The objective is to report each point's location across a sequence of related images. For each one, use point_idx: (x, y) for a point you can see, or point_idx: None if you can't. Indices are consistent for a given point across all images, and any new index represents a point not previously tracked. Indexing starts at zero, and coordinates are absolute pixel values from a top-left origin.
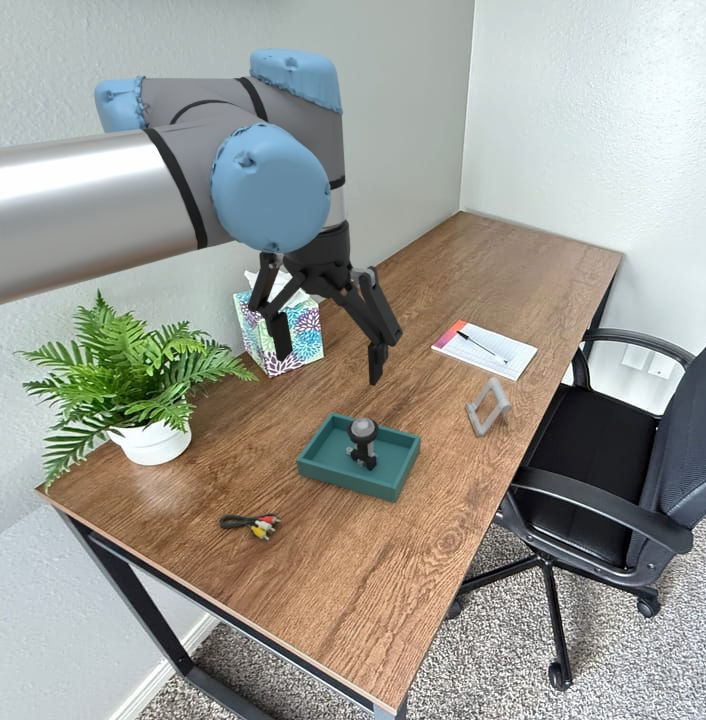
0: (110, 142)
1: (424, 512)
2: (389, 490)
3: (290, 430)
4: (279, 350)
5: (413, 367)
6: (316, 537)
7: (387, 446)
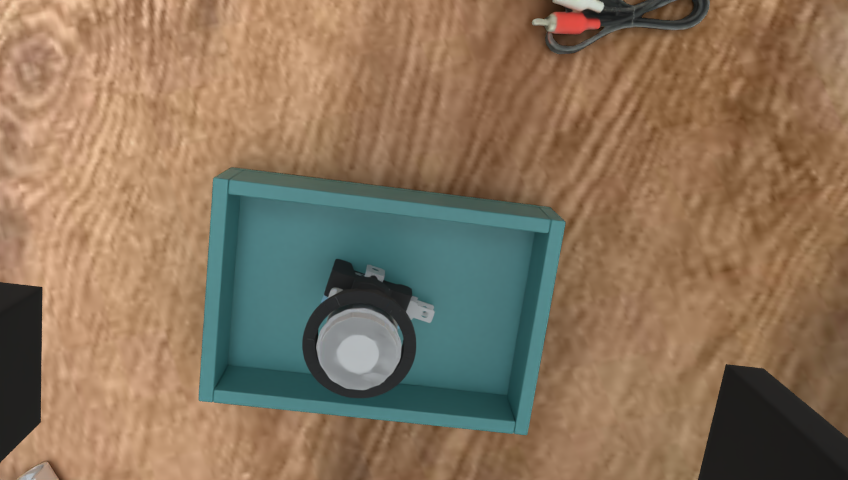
0: None
1: (135, 152)
2: (238, 177)
3: (637, 359)
4: (783, 412)
5: None
6: (419, 10)
7: None
